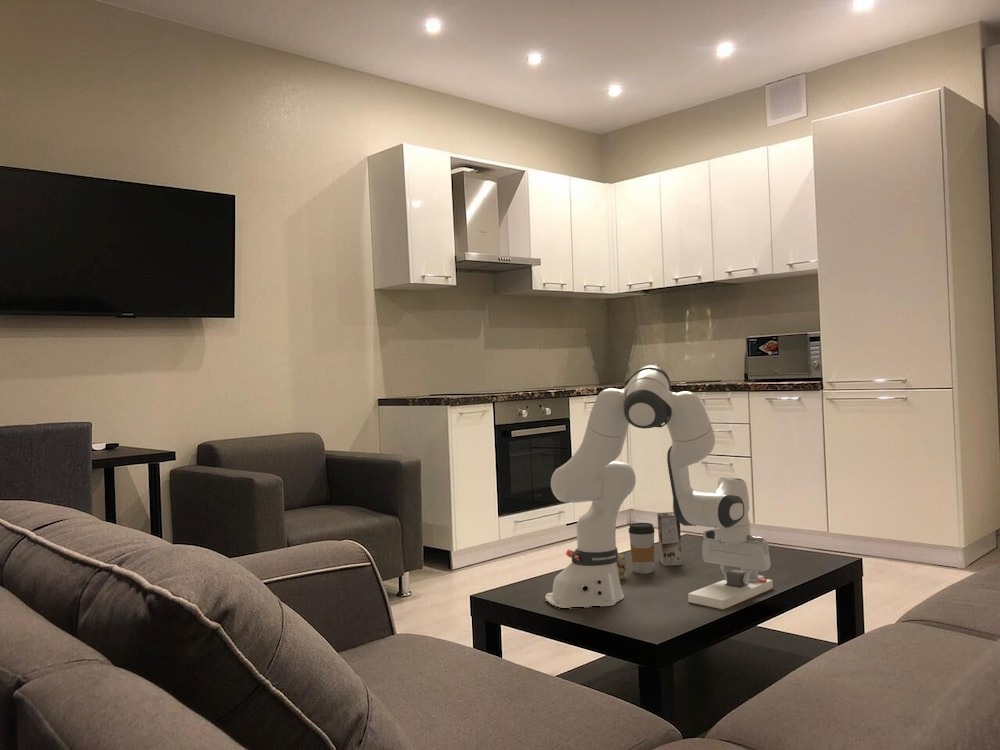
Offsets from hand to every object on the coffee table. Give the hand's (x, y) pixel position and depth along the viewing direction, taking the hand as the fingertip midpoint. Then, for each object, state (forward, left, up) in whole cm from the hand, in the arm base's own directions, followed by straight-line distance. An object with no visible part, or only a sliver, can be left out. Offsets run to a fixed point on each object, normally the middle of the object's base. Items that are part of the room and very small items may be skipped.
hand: (736, 582), depth 231 cm
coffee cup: (-14, +34, -3) cm, 36 cm away
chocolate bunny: (-26, +30, -3) cm, 39 cm away
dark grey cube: (0, 0, -1) cm, 1 cm away
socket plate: (-3, -1, -3) cm, 4 cm away
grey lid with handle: (+6, +3, 0) cm, 7 cm away
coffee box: (-1, +41, -3) cm, 41 cm away
